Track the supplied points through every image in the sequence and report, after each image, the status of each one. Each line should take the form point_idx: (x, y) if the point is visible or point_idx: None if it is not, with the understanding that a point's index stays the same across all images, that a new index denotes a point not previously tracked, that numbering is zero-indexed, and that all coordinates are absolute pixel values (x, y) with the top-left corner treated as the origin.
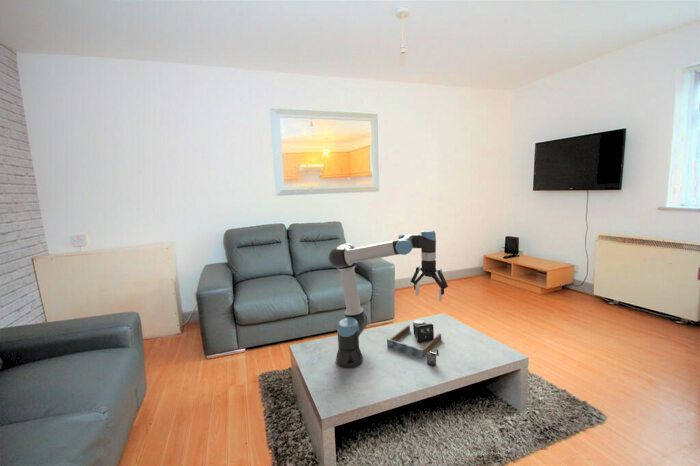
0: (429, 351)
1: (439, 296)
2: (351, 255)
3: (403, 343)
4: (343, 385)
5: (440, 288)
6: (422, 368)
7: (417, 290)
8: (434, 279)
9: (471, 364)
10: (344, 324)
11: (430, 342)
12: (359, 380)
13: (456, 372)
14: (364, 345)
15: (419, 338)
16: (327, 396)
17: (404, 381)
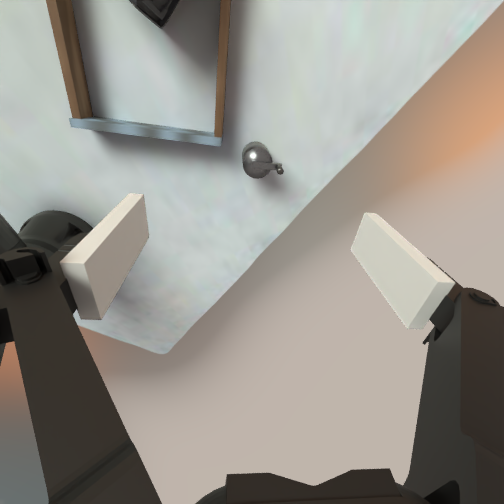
0: (248, 153)
1: (367, 271)
2: None
3: (142, 128)
4: (133, 306)
5: (422, 317)
6: (240, 188)
7: (129, 252)
8: (416, 455)
9: (364, 99)
10: None
11: (220, 50)
12: (145, 285)
13: (324, 164)
14: (19, 151)
15: (159, 16)
16: (134, 332)
17: (224, 250)
